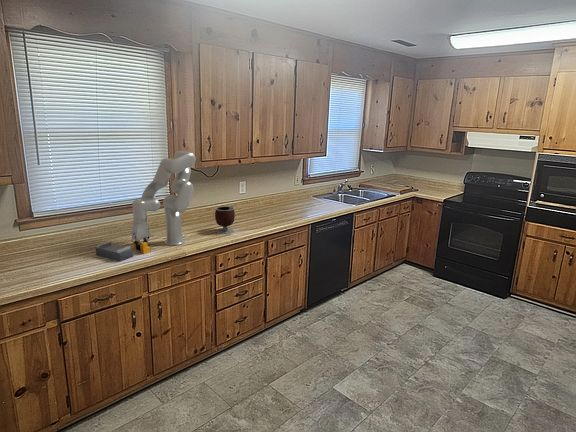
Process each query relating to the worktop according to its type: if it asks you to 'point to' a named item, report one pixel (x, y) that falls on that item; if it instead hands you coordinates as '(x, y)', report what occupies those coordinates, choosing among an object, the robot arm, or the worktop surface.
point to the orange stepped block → (143, 248)
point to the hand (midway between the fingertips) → (141, 248)
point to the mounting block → (114, 251)
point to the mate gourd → (225, 218)
